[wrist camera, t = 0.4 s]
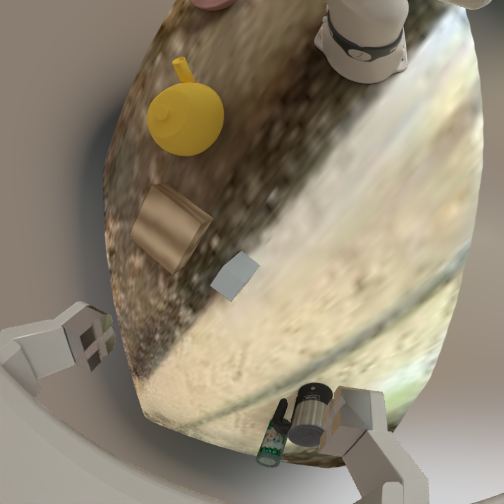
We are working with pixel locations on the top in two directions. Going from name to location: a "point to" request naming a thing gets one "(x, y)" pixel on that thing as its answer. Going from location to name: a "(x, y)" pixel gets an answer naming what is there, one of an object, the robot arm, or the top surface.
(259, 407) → the top surface
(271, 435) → the can
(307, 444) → the milk frother
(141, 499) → the robot arm
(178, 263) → the maple block
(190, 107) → the teapot
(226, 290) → the gray block
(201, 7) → the mortar and pestle
